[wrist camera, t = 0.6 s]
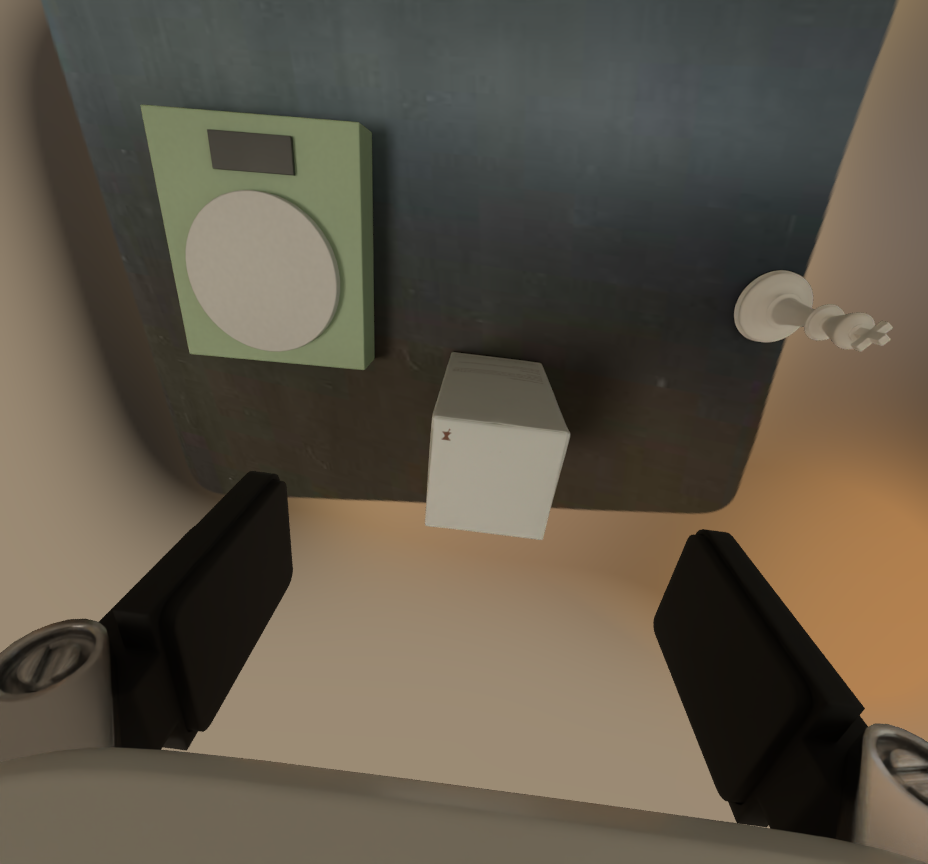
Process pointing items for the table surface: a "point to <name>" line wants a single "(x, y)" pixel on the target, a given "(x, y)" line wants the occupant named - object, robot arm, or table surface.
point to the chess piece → (801, 314)
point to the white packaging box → (494, 447)
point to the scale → (268, 233)
